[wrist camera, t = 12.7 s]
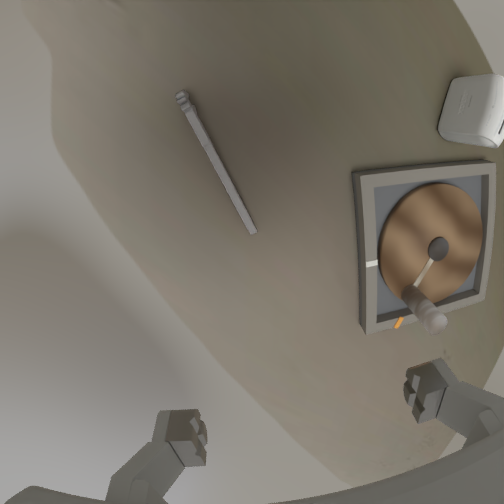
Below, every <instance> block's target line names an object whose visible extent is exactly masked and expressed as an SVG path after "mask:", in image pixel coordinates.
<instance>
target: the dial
mask: <svg viewBox="0 0 504 504" xmlns="http://www.w3.org/2000/svg"><path fill="white" fill-rule="evenodd" d="M482 237H483V228H482V220H481V216H480V213H479V210H478V208H477V206H476V204H475V202H474V201H473V199H472V198H471V197H470V196H469V195H468V194H467V193H466V192H464V191H463V190H462V189H460V188H458V187H455V186H452V185H450V184H446V183H439V182H435V183H428V184H424V185H421V186H419V187H417V188H415V189H413V190H412V191H410V192H409V193H407V194H406V195H405V196H404V197H403V198H402V199H401V200H400V201H399V202H398V203H397V204H396V205H395V206H394V208H393V209H392V210H391V212H390V214H389V215H388V217H387V219H386V221H385V223H384V225H383V228H382V231H381V234H380V238H379V243H378V256H377V258H378V266H379V270H380V274H381V276H382V279H383V280H384V282H385V284H386V285H387V286H388V288H389V289H390V290H391V291H392V292H393V294H394V295H395V296H397V297H398V298H399V299H401V300H402V301H403V302H404V303H405V304H406V305H407V306H408V307H409V309H410V310H411V311H412V312H413V314H414V315H415V316H416V317H417V318H418V320H419V321H420V322H421V323H422V325H423V326H424V327H425V328H426V329H427V331H428V332H429V333H430V334H431V335H437V334H439V333H441V332H442V331H443V330H444V329H445V327H446V325H447V318H446V317H445V316H444V315H443V314H442V313H441V312H440V310H439V309H438V308H437V307H436V306H435V305H434V304H433V303H436V302H438V301H441V300H443V299H445V298H446V297H448V296H449V295H451V294H452V293H454V292H455V291H456V290H457V289H458V288H459V287H460V286H461V285H462V284H463V283H464V282H465V280H466V279H467V278H468V276H469V275H470V273H471V272H472V270H473V268H474V266H475V264H476V262H477V259H478V257H479V253H480V250H481V245H482Z"/></svg>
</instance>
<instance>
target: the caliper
mask: <svg viewBox="0 0 504 504" xmlns="http://www.w3.org/2000/svg"><path fill="white" fill-rule="evenodd" d="M175 96H176V98H177V103H178V104H180V107H181V110H182V111H184V112H185V115H186V117H187V119H188V121H189V122H190V124H191V126H192V128H193V130H194V132H195V134H196V135H197V137H198V139H199V141H200V143H201V145H202V147H204V149H205V151H206V153H207V155H208V157H209V159H210V160H211V162H212V164H213V166H214V168H215V170H216V172H217V174H218V175H219V177H220V179H221V181H222V183H223V185H224V187H225V189H226V190H227V192H228V194H229V196H230V198H231V200H232V202H233V203H234V205H235V207H236V209H237V211H238V213H239V215H240V217H241V218H242V220H243V222H244V224H245V226H246V228H247V229H248V231H249V233H250V234H251V235H252V234H254V233H256V232H258V231H257V229H256V227H255V225H254V223H253V221H252V219H251V217H250V215H249V213H248V211H247V209H246V207H245V205H244V203H243V201H242V200H241V198H240V196H239V194H238V192H237V190H236V188H235V186H234V184H233V182H232V180H231V178H230V176H229V175H228V173H227V171H226V169H225V167H224V165H223V163H222V161H221V159H220V157H219V155H218V154H217V152H216V150H215V148H214V146H213V144H212V142H211V140H210V137H209V135H208V133H207V132H206V130H205V128H204V126H203V124H202V122H201V121H200V119H199V117H198V115H197V111H196V108H195V106H194V104H193V105H192V104H191V103H190V101H189V99H188V98H189V94H188V93H187V92H186V91H185V90H182V91H180V92H178V93H176V95H175Z"/></svg>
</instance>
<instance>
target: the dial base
mask: <svg viewBox="0 0 504 504" xmlns="http://www.w3.org/2000/svg"><path fill="white" fill-rule="evenodd" d="M352 180H353V190H354V201H355V213H356V227H357V243H358V264H359V303H360V325H361V327H362V329H363V330H364V332H365V334H366V335H367V334H371V333H375V332H379V331H383V330H387V329H391V328H397V329H398V327H399V326H402V325H406V324H409V323H413V322H416V321H419V320H418V318H417V317H416V316H415V315H414V314H413V312H412V311H411V310H410V309H409V307H408V306H407V305H406V304H405V303H404V302H403V301H402V300H401V299H399V298H398V297H397V296H395V295H394V294H393V292H392V291H391V290H390V289H389V288H388V286H387V285H386V284H385V282H384V280H383V279H382V276H381V274H380V270H379V266H378V258H377V256H378V243H379V238H380V234H381V231H382V228H383V225H384V223H385V221H386V219H387V217H388V215H389V214H390V212H391V210H392V209H393V208H394V206H395V205H396V204H397V203H398V202H399V201H400V200H401V199H402V198H403V197H404V196H405V195H406V194H407V193H409V192H410V191H412V190H413V189H415V188H417V187H419V186H421V185H424V184H428V183H435V182H439V183H446V184H450V185H452V186H455V187H458V188H460V189H462V190H463V191H464V192H466V193H467V194H468V195H469V196H470V197H471V198H472V199H473V201H474V202H475V204H476V206H477V208H478V210H479V213H480V216H481V220H482V228H483V237H482V245H481V250H480V253H479V257H478V259H477V262H476V264H475V266H474V268H473V270H472V272H471V273H470V275H469V276H468V278H467V279H466V280H465V282H464V283H463V284H462V285H461V286H460V287H459V288H458V289H457V290H456V291H455V292H454V293H452V294H451V295H449V296H448V297H446V298H445V299H443V300H441V301H438V302H436V303H433V304H434V305H435V306H436V307H437V308H438V309H439V310H440V312H441V313H442V314H443V313H446V312H450V311H453V310H456V309H459V308H462V307H465V306H468V305H471V304H474V303H477V302H480V301H483V300H484V299H485V294H486V288H487V282H488V276H489V269H490V261H491V253H492V244H493V234H494V221H495V203H496V163H495V162H491V161H487V160H470V161H456V162H443V163H432V164H421V165H411V166H401V167H392V168H383V169H374V170H366V171H358V172H352Z"/></svg>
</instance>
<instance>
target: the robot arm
mask: <svg viewBox="0 0 504 504" xmlns="http://www.w3.org/2000/svg"><path fill="white" fill-rule="evenodd" d="M406 377H407V381H406V382H405V383H404V388H403V391H404V397H405V400H406V402H407V404H408V405H409V406H411V407H413V410H412V414H413V416H414V418H415V420H416V421H417V423H418V424H419V423H422V422H425V421H428V420H431V419H434V418H436V419H437V420H439V421H441V422H442V423H444V424H445V425H447V426H448V427H450V428H452V429H453V430H455V431H456V432H458V433H460V434H461V435H463V436H464V437H466V438H467V440H466V442H465V444H464V446H463V447H462V449H461V450H459V451H457V452H455V453H452V454H450V455H448V456H445V457H443V458H441V459H438V460H436V461H434V462H431V463H429V464H426V465H424V466H421V467H418V468H416V469H413V470H410V471H407V472H405V473H402V474H399V475H396V476H393V477H390V478H387V479H383V480H380V481H377V482H373V483H370V484H366V485H363V486H359V487H355V488H351V489H347V490H343V491H339V492H335V493H330V494H325V495H320V496H316V497H310V498H304V499H299V500H292V501H286V502H278V503H272V504H504V398H503V397H500V396H498V395H496V394H493V393H491V392H488V391H485V390H483V389H481V388H478V387H476V386H473V385H471V384H468V383H466V382H464V381H462V382H459V380H458V379H457V378H456V376H455V375H454V373H453V372H452V371H451V369H450V368H449V367H448V365H447V364H446V363H445V361H444V360H443V359H442V358H438V359H435V360H432V361H430V362H426V363H423V364H420V365H417V366H414V367H411V368H408V369H407V371H406ZM206 444H207V430H206V426H205V424H204V422H203V421H201V420H200V413H199V411H198V409H190V410H166V411H160V412H159V413H158V415H157V420H156V424H155V429H154V433H153V438H152V442H148V443H147V444H146V445H145V446H144V447H143V448H142V449H141V450H139V451H138V452H137V453H136V454H135V455H134V456H133V457H132V458H131V459H130V460H129V461H128V462H127V463H126V464H125V465H123V466H122V468H120V469H119V470H118V471H117V472H116V473H115V474H114V475H113V476H112V477H111V481H110V485H109V488H108V492H107V496H106V500H105V501H103V500H97V499H91V498H86V497H80V496H76V495H71V494H66V493H62V492H58V491H54V490H50V489H46V488H43V487H39V486H29V487H27V488H26V489H24V490H22V491H21V492H19V493H17V494H16V495H15V496H13V497H12V498H10V499H9V500H8V501H6V503H5V504H168V503H167V502H166V501H165V500H164V499H163V498H162V497H163V496H164V495H165V493H166V492H167V491H168V489H169V488H170V487H171V486H172V484H173V483H174V482H175V481H176V479H177V478H178V476H179V475H180V474H181V473H182V471H183V470H184V469H185V467H192V466H205V465H206V451H205V449H204V446H205V445H206ZM270 504H271V503H270Z"/></svg>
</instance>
